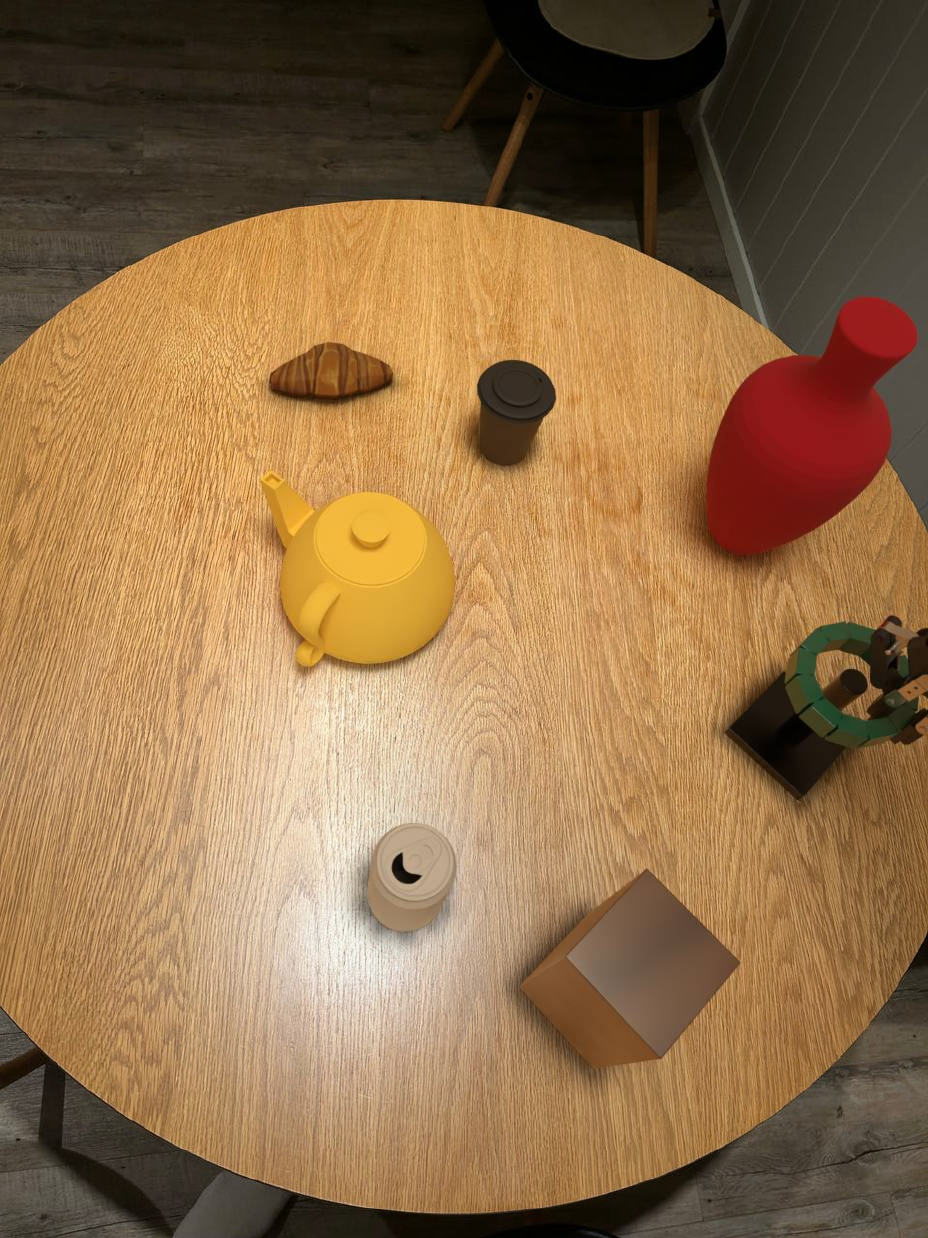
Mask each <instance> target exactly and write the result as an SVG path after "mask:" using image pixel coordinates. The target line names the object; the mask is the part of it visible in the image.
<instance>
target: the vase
mask: <svg viewBox="0 0 928 1238" xmlns="http://www.w3.org/2000/svg"><path fill="white" fill-rule="evenodd" d="M917 343H918V330H917V327H916V324H915V322H914V321H913V319H912V318H911V316H909V314H908V313H907V312H906V311H905V310H903V309H902V308H901V307H900V306H898V305H896V304H894V303H893V302H891V301H889V300H886V299H883V298H879V297H878V296H877V297H875V296H859V297H855V298H853V299H849V300H848V301H846V302H845V303H844V304H843V305H842V306H841V308H840V310H839V311H838V314H837V317H836V320H835V323H834V325H833V329H832V332H831V334H830V337H829V340H828V343H827V344H826V345H827V346H826V348H825V350H824V352H823V354H822V356H818V355H811V354H795V355H789V356H784V357H779V358H775V359H772V360H770V361H768V362H766V363H763V364H762V365H761V366H759V367H757V368H756V369H755V370H754V371H753V372H751V373H750V374H749V375H747V377H746V378H745V379H744V380H743V381H742V382H741V383H740V385H739V386H738V388H737V389H736V390H735V392H734V394H733V396H732V397H731V399H729V402H728V405H727V407H726V409H725V412H724V413H723V416H722V418H721V420H720V423H719V425H718V429H717V431H716V434H715V437H714V440H713V443H712V448H711V452H710V454H709V461H708V467H707V474H706V481H705V482H706V484H705V503H706V504H705V505H706V517H707V526H708V529H709V533H710V535H711V537H712V538H713V540H714V541H715V543H717V544H718V545H719V546H720V547H721V548H723V549H724V550H726V551H728V552H730V553H732V554H735V555H738V556H755V555H758V554H761V553H764V552H767V551H771V550H773V549H777V548H779V547H782V546H785V545H787V544H789V543H792V542H794V541H796V540H798V539H799V538H803V537H804V536H807V534H811V532H813V531H814V530H817V529H818V528H820V527H821V526H823V525H824V524H826V523H827V522H828V521H830V520H831V519H833V518H834V517H835V516H837V515H838V514H839V513H840V512H841V511H842V510H844V509H845V508H846V507H847V506H849V505H850V504H851V502H852V503H853V501H854V500H856V499H857V498H858V497H859V496H860V495H861V494H862V493H863V492H864V491H865V490H866V489H867V487H869V486H870V485H871V483H872V482H873V480H874V479H875V477H877V475H878V474H879V472H880V470H881V469H882V468H883V466H884V465H885V463H886V460H887V457H888V454H889V451H890V448H891V445H892V439H893V438H892V437H893V436H892V435H893V434H892V433H893V429H892V424H891V418H890V414H889V411H888V408H887V406H886V403H885V402H884V400H883V398H882V396H881V395H880V394H879V392H878V391H877V389H876V388H875V387H874V386H875V385H876V384H877V382H879V381H880V380H881V379H882V378H883V377H884V376H885V375H886V374H888V372H890V370H892V369H893V368H894V367H896V366H897V365H898V364H899V363H900V362H901V361H902V360H904V359H905V358H906V357H907V356H908V355H910V354H911V353H912V352H913V350H914V349H915V348H916V346H917Z"/></svg>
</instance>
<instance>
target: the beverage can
mask: <svg viewBox="0 0 928 1238" xmlns="http://www.w3.org/2000/svg"><path fill="white" fill-rule="evenodd" d="M457 867H458V865H457V858H456V854H455V850H454V848H453V846H452V844H451V843H450V841H449V839H447V837H446V836H445V835H444V834H443V833H442V832H440V830H439V829H436V828H435V827H433V826H430V825H428V824H424V823H421V822H407V823H403V824H399V825H397V826H395V827H393V828H391V829H389V830H388V831H386V833H384V834H383V836H381V837H380V838H379V840H378V841H377V843H376V845H375V847H374V849H373V851H372V855H371V860H370V866H369V873H368V881H367V888H366V897H367V902H368V907H369V909H370V912H371V913H372V915H373V916H374V917H375V919H376V920H377V921H378V922H379V923H380V924H382V925H383V926H384V927H386V928H387V929H390V930H393V931H396V932H402V933H406V932H407V933H409V932H415V931H418V930H420V929H422V928H425V927H426V926H427V925H429V924H430V923H431V922H432V921H433V920H434V919H435V918H436V917H437V915H438V913H439V912H440V910H441V908H442V905H443V904H444V902H445V900H446V898H447V896H448V894H449V892H450V890H451V888H452V886H453V884H454V882H455V879H456V875H457Z"/></svg>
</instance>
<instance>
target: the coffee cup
mask: <svg viewBox="0 0 928 1238" xmlns="http://www.w3.org/2000/svg"><path fill="white" fill-rule="evenodd" d="M476 393H477V394H476V395H477V397H478V399H479V401H480V402H479V404H480V407H479V434H478V436H479V438H478V446H479V447H478V448H479V450H480V452H481V455H483V457H484V458H485V459H486V460H487V461H489V462H490V463H492V464H495V465H498V466H502V467H503V466H504V467H505V466H506V467H509V466H514V465H518V464H519V463H520V462H522V461H523V460H524V459H525V458H526V456H527V454H528V452H529V450H530V447H531V446H532V444H533V441H534V439H535V437H536V436H537V433H538V431H539V429H540V427H541V425H542V422H543V420H544V418H545V417H546V416H548V415H549V414H550V413H551V412H552V410H553V409H554V407H555V404H556V400H557V393H556V388H555V385H554V383H553V382H552V380H551V378H550V376H549V375H548V374H547V373H546V372H545V371H544V370H543V369H542V368H540V367H539V366H537V365H535V364H533V363H531V362H528V361H524V360H520V359H504V360H501V361H498V362H495V363H494V364H492V365H490V366H488V367H487V368H486V369H485V370H484V371H483V372H482V373H481V374H480V375H479V377H478V380H477V383H476Z"/></svg>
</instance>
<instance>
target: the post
mask: <svg viewBox="0 0 928 1238" xmlns="http://www.w3.org/2000/svg"><path fill="white" fill-rule="evenodd" d="M785 676H786V670H784V671H782V672H781V673H780V674H779V675H778V676H777V677H776V678H775V679H774V680H773V681H772V682H771V683H770V684H769V685H768V686H767V687H766V688H765V689H764V690H763V691H762V692H761V693H760V694H759V696H757V698H756V699H755V700H754V701H753V702H752V703H751V704H750V705H749V706H748V707H747V708H746V709H745V710H744V711H743V712H742V713H741V714H740V715H739V716H738V717H737V718H736V719H735V721H734V722H733V723H732V724H730V726H729V727H728V728H727V729H726V730H725V731H724V734H726V735H727V737H729V738H730V739H731V740H732V741H733V742H734V743H735V744H736V745H737V746H738V747H739V748H741V749H742V750H743V752H745V753H746V754H747V755H748V756H749V757H750V758H751V759H752V760H753V761H754V762H755V763H757V764H758V765H759V766H760V767H761V769H763V770H764V771H765V772H767V774H768V775H770V776H771V777H772V779H774V780H775V781H776V782H777V783H778V784H779V785H781V787H782V788H784V790H786V791H787V792H788V793H789V794H790V795H791V796H792V797H793V798H794V799H795V800H796V801H800V800H801V799H804V797H805V796H806V795H807V794H808V793H809V792H810V790H811V789H812V788H813V787H814V786H815V785H816V783H817V782H818V781H819V780H820V779H821V778H822V777H823V776H824V774H825V773H827V771H828V770H829V769H830V768H831V766H832V765H833V764H834V763H835V762H836V761H837V759H839V758H840V756H841V755H842V754H843V753H844V751H846V749H847V748H848V747H846V746H843V745H840V744H837V743H833V742H830V741H827V740H825V736H826V735H825V736H824V737H820V736H819V735H818V734H817V733H816V732H815V731H814V730H813V729H811V728H810V727H809V726H808V725H807V724H806V723H805V722H804V721H803V720H801V719H800V718H799V716H800V715H801V713H799V714H796V712H795V710H794V707H793V705H792V703H791V700H790V698H789V696H788V693H787V691H786V689H785V687H786V686H787V684H785ZM868 688H869V681H868V679H867V677H866V675H865V674H864V673H863V672H861V671H860V670H858V669H856V668H846V669H844V670H843V671H842V672H840V674H838V675H836V677H835V678H833V679H832V680H831V681H830V682H829V683H828V684H827V685H825V686H824V687H823V688H821V690H822V693H823V695H824V697H825V698H826V699H827V700H828V701H829V702H831V703H832V704H833V705H834V706H835V707H836V708H837V709H838V710H840V711H841V712H842V711H844V710H845V709H846V708H847V707H849V706H850V705H851V704H853V703H854V702H855V701H856V700H857V699H859V698H860V697H861V696H862V695H864V694H865V693H866V692H867V691H868Z"/></svg>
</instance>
